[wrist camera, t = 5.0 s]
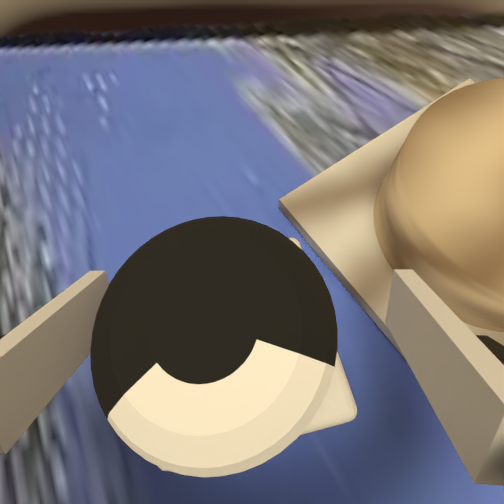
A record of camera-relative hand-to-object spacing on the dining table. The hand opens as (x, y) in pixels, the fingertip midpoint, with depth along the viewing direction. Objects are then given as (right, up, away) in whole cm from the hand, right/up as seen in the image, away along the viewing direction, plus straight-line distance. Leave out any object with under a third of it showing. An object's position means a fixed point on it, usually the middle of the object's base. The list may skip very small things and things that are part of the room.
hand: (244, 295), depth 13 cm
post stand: (+15, +3, +5) cm, 16 cm away
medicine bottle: (0, -4, +4) cm, 6 cm away
